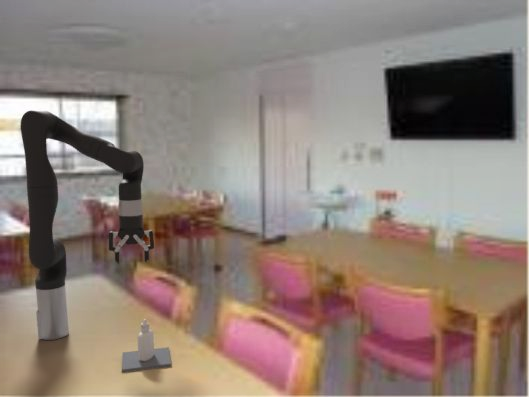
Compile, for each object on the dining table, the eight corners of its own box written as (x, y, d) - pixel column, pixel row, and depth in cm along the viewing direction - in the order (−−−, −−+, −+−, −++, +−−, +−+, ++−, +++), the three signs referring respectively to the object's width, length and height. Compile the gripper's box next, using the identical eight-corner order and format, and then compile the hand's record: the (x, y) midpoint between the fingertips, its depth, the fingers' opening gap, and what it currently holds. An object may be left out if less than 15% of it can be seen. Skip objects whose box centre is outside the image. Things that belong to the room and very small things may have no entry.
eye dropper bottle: (134, 358, 160) (132, 319, 159) (151, 352, 164) (149, 315, 162) (141, 362, 157) (139, 323, 155) (158, 357, 160) (156, 319, 159)
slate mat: (121, 372, 153) (121, 369, 153) (122, 354, 165) (122, 352, 164) (171, 366, 156) (171, 363, 156) (168, 349, 168) (168, 347, 168)
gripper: (153, 210, 177) (154, 258, 179) (108, 211, 174) (110, 260, 176) (153, 214, 169) (154, 264, 172) (106, 215, 166) (108, 266, 169)
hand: (132, 262), depth 174 cm, fingers open, 8 cm apart
